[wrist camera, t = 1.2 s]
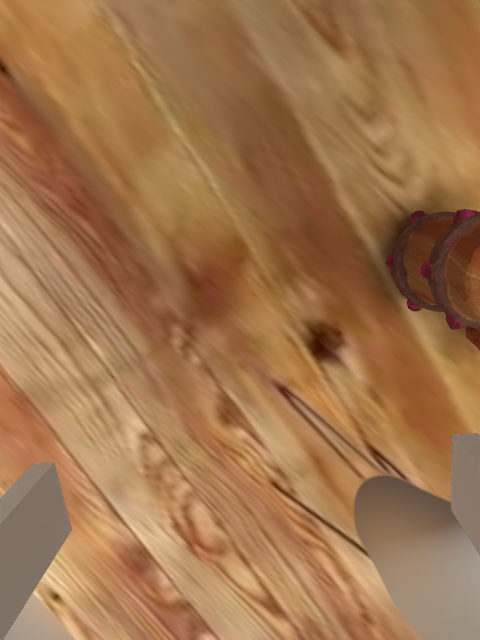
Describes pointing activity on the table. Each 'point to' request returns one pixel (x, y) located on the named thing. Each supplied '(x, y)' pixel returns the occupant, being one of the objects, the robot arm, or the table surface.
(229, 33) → the table surface
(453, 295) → the mug
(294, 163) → the table surface
